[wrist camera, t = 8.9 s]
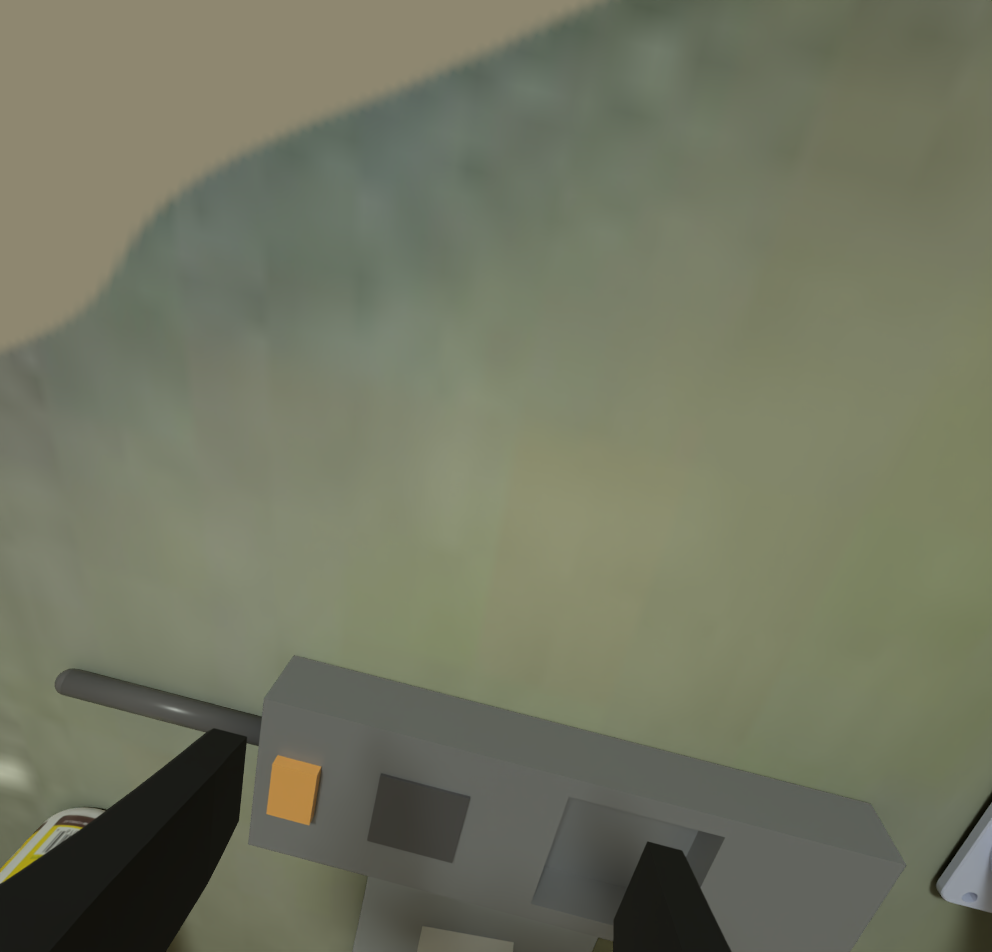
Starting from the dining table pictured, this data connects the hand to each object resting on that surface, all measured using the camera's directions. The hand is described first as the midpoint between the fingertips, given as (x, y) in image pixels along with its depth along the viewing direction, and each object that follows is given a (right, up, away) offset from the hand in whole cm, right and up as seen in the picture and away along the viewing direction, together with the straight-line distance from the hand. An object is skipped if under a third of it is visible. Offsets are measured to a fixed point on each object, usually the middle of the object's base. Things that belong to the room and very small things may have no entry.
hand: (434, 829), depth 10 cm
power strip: (-1, -5, +13) cm, 14 cm away
